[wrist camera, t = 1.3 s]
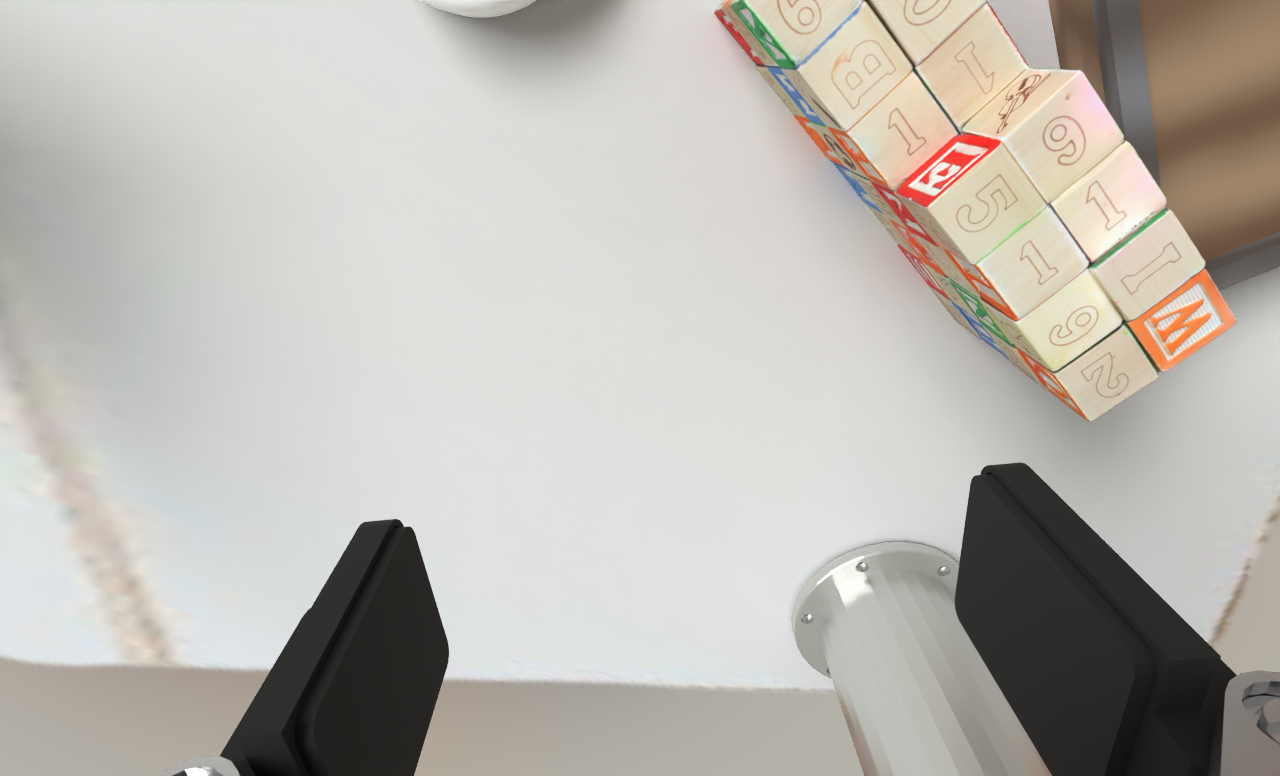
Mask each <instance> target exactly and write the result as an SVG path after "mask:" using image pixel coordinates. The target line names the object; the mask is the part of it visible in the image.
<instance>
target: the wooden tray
mask: <svg viewBox="0 0 1280 776" xmlns="http://www.w3.org/2000/svg"><path fill="white" fill-rule="evenodd" d="M1049 5H1050V10H1051V16H1052V22H1053V27H1054V33H1055V39H1056V45H1057V50H1058V56H1059V62H1060V67H1061V69H1063V70H1081V71H1082V72H1084V74H1085V76H1086V77H1087V79H1088V80H1089V82H1090V83H1091V85H1092V86H1093V88H1094V89H1095V91H1096V92H1097V94H1098V95H1099V97H1100V99H1101V100H1102V102H1103V103H1104V105H1105V106H1106V108H1107V110H1108V111H1109V113H1110V114H1111V116H1112V117H1113V119H1114V120H1115V122H1116V123H1117V125H1118V126H1119V128H1120V130H1121V131H1122V133H1123V135H1124V140H1126V141H1127V142H1129V143H1130V144H1131V145H1132V146H1133V147H1134V149H1135V150H1136V152H1137V154H1138V155H1139V157H1140V158H1141V160H1142V161H1143V163H1144V164H1145V166H1146V168H1147V169H1148V171H1149V172H1150V174H1151V175H1152V177H1153V178H1154V180H1155V182H1156V183H1157V184H1158V186H1159V187H1160V188H1161V190H1162V192H1163V194H1164V195H1165V197H1166V205H1165V207H1166V208H1168V209H1170V210H1171V211H1172V212H1173V213H1174V215H1175V216H1176V217H1177V219H1178V220H1179V222H1180V223H1181V225H1182V226H1183V228H1184V229H1185V231H1186V233H1187V234H1188V236H1189V237H1190V239H1191V241H1192V242H1193V244H1194V245H1195V246H1196V248H1197V250H1198V251H1199V253H1200V255H1201V256H1202V258H1203V259H1204V260H1205V267H1204V269H1206V270H1207V272H1208V273H1209V275H1210V277H1211V278H1212V280H1213V282H1214V283H1215V285H1216V286H1217V288H1218V290H1221V289H1224V288H1226V287H1229V286H1231V285H1234V284H1236V283H1239V282H1241V281H1244V280H1246V279H1249V278H1251V277H1254V276H1256V275H1259V274H1261V273H1264V272H1266V271H1269V270H1271V269H1274V268H1276V267H1279V266H1280V0H1049Z"/></svg>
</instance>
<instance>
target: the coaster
mask: <svg viewBox="0 0 1280 776" xmlns="http://www.w3.org/2000/svg"><path fill="white" fill-rule="evenodd" d="M418 1H420V2H422V3H425V4H427V5H429V6H432V7H434V8H437V9H440V10H444V11H447V12H450V13H454V14H457V15H461V16H467V17H474V18H489V17H496V16H502V15H505V14H509V13H512V12H515V11H518V10H520V9H522V8H524V7H526V6H528V5H530V4H531V3H533V2H535V1H536V0H418Z"/></svg>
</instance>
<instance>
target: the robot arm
mask: <svg viewBox="0 0 1280 776" xmlns="http://www.w3.org/2000/svg"><path fill="white" fill-rule="evenodd" d="M792 626H793V633H794V636H795V640H796V643H797V646H798V648H799V650H800V652H801V654H802V656H803V657H804V659H805V660H806V661H807V662H808V663H809V664H810V665H811V666H812V667H813V668H814V669H816V670H817V671H818V672H820V673H821V674H823V675H825V676H827V677H829V678H832V680H833V683H834V686H835V689H836V692H837V695H838V698H839V701H840V704H841V707H842V710H843V713H844V716H845V719H846V722H847V725H848V728H849V731H850V734H851V737H852V739H853V743H854V746H855V749H856V752H857V755H858V758H859V761H860V764H861V767H862V770H863V773H864V776H1280V673H1279V672H1267V671H1252V672H1246V673H1241V674H1239V675H1236V674H1235V673H1234V672H1233V671H1232V670H1231V669H1230V668H1229V667H1228V666H1227V665H1226V664H1225V663H1224V662H1223V661H1222V660H1221V659H1220V658H1221V656H1220V655H1219V654H1218V653H1217V652H1216V651H1215V650H1214V649H1213V648H1212V647H1211V646H1210V645H1209V644H1208V643H1207V642H1206V641H1205V640H1204V639H1203V638H1202V637H1201V636H1200V635H1199V634H1198V633H1197V632H1196V631H1195V630H1194V629H1193V628H1192V627H1191V626H1190V625H1188V624H1187V623H1186V622H1185V621H1184V620H1183V619H1182V618H1181V617H1180V616H1179V615H1178V614H1177V613H1176V612H1175V611H1174V610H1173V609H1172V608H1171V607H1170V606H1169V605H1168V604H1167V603H1166V602H1165V601H1164V600H1163V599H1162V598H1161V597H1160V596H1159V595H1158V594H1157V593H1156V592H1155V591H1154V590H1153V589H1152V588H1151V587H1150V586H1149V585H1148V584H1147V583H1146V582H1145V581H1144V580H1143V579H1142V578H1141V577H1140V576H1139V575H1138V574H1137V573H1136V572H1135V571H1134V570H1133V569H1132V568H1131V567H1130V566H1129V565H1128V564H1127V563H1126V562H1125V561H1124V560H1123V559H1122V558H1121V557H1120V556H1119V555H1118V554H1117V553H1116V552H1115V551H1114V550H1113V549H1112V548H1111V547H1110V546H1109V545H1108V544H1107V543H1106V542H1105V541H1104V540H1103V539H1102V538H1101V537H1100V536H1099V535H1098V534H1097V533H1096V532H1095V531H1094V530H1093V529H1092V528H1091V527H1090V526H1089V525H1088V524H1087V523H1085V522H1084V521H1083V520H1082V519H1081V518H1080V517H1079V516H1078V515H1077V514H1076V513H1075V512H1074V511H1073V510H1072V509H1071V508H1070V507H1069V506H1068V505H1067V504H1066V503H1065V502H1064V501H1063V500H1062V499H1061V498H1060V497H1059V496H1058V495H1057V494H1056V493H1055V492H1054V491H1053V490H1052V489H1051V488H1050V487H1049V486H1048V485H1047V484H1046V483H1045V482H1044V481H1043V480H1042V479H1041V478H1040V477H1039V476H1038V475H1037V474H1036V473H1035V472H1034V471H1033V470H1032V469H1031V468H1030V467H1029V466H1027V465H1026V464H1025V463H1011V464H1000V465H989V466H986V467H984V468H983V470H982V471H981V475H977V476H974V477H973V479H972V481H971V485H970V492H969V499H968V506H967V514H966V521H965V528H964V535H963V542H962V549H961V557H960V564H958V563H957V562H956V561H954V560H953V559H952V558H951V557H950V556H948V555H947V554H945V553H943V552H941V551H939V550H938V549H935V548H932V547H929V546H926V545H923V544H917V543H910V542H884V543H878V544H872V545H867V546H864V547H861V548H858V549H855V550H852V551H849V552H847V553H845V554H843V555H841V556H839V557H837V558H835V559H834V560H832V561H831V562H829V563H828V564H826V565H825V566H824V567H822V568H821V569H819V570H818V571H817V572H816V573H815V574H814V575H813V576H812V577H811V578H810V579H809V580H808V582H807V583H806V584H805V586H804V587H803V589H802V590H801V592H800V593H799V596H798V598H797V600H796V603H795V605H794V609H793V615H792ZM448 658H449V647H448V641H447V638H446V635H445V631H444V628H443V625H442V621H441V618H440V615H439V612H438V608H437V605H436V602H435V598H434V595H433V592H432V588H431V585H430V582H429V579H428V575H427V572H426V569H425V565H424V562H423V559H422V556H421V552H420V549H419V546H418V542H417V539H416V536H415V533H414V530H413V529H412V528H411V527H404V526H403V524H402V523H401V521H400V520H397V519H393V520H382V521H371V522H364V523H362V524H361V525H360V526H359V528H358V529H357V531H356V533H355V534H354V536H353V538H352V540H351V541H350V543H349V545H348V546H347V548H346V550H345V551H344V553H343V555H342V557H341V558H340V560H339V562H338V563H337V565H336V567H335V568H334V570H333V572H332V573H331V575H330V577H329V579H328V580H327V582H326V584H325V585H324V587H323V589H322V590H321V592H320V594H319V595H318V597H317V599H316V601H315V602H314V604H313V606H312V607H311V609H309V610H308V611H307V612H306V613H305V615H304V616H303V617H302V619H301V621H300V622H299V624H298V626H297V627H296V629H295V631H294V632H293V634H292V636H291V637H290V639H289V641H288V642H287V644H286V646H285V647H284V649H283V651H282V652H281V654H280V656H279V657H278V659H277V661H276V663H275V664H274V666H273V668H272V669H271V671H270V673H269V674H268V676H267V678H266V679H265V681H264V683H263V684H262V686H261V688H260V689H259V691H258V693H257V695H256V696H255V698H254V700H253V701H252V703H251V704H250V706H249V708H248V710H247V711H246V713H245V715H244V716H243V718H242V720H241V721H240V723H239V725H238V726H237V728H236V730H235V731H234V733H233V735H232V736H231V738H230V740H229V741H228V743H227V745H226V747H225V748H224V750H223V751H222V753H221V755H220V756H201V757H197V758H194V759H190V760H186V761H183V762H181V763H179V764H177V765H175V766H173V767H171V768H169V769H167V770H164V771H163V772H161V773H160V774H159V775H157V776H414V773H415V770H416V767H417V763H418V760H419V757H420V753H421V750H422V747H423V744H424V740H425V737H426V734H427V730H428V727H429V724H430V721H431V717H432V714H433V711H434V708H435V704H436V701H437V698H438V694H439V691H440V688H441V685H442V681H443V678H444V675H445V671H446V668H447V664H448Z"/></svg>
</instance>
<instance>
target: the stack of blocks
mask: <svg viewBox="0 0 1280 776" xmlns="http://www.w3.org/2000/svg"><path fill="white" fill-rule="evenodd" d="M714 13H715V15H716V16H717V17H718V19H719V20H720V21H721V22H722V23H723V25H724V26H725V27H726V28H727V29H728V31H729V32H730V33H731V34H732V35H733V37H734V38H735V39H736V40H737V42H738V43H739V44H740V45H741V46H742V48H743V49H744V50H745V52H746V53H747V54H748V55H749V56H750V58H751V59H752V60H753V61H754V62H755V63H756V64H757V65H756V68H757V69H758V71H759V72H760V73H761V75H762V76H763V77H764V78H765V80H766V81H767V82H768V83H769V85H770V86H771V87H772V88H773V90H774V91H775V92H776V93H777V95H778V96H779V97H780V98H781V100H782V101H783V102H784V103H785V105H786V106H787V107H788V108H789V110H790V111H791V112H792V113H793V114H794V115H795V117H796V119H797V120H798V121H799V123H800V124H801V125H802V126H803V128H804V129H805V130H806V131H807V133H808V134H809V135H810V137H811V138H812V139H813V140H814V142H815V143H816V144H817V145H818V147H819V148H820V149H821V150H822V152H823V153H824V154H825V156H826V157H827V158H828V159H830V160H832V161H833V163H834V164H835V165H836V167H837V168H838V169H839V171H840V172H841V173H842V174H843V176H844V177H845V178H846V179H847V181H848V182H849V183H850V184H851V186H852V187H853V188H854V190H855V191H856V192H857V193H858V195H859V196H860V197H861V198H862V200H863V201H864V202H865V203H866V204H867V205H868V206H869V208H870V209H871V210H872V212H873V213H874V214H875V215H876V217H877V218H878V219H879V220H880V222H881V223H882V224H883V226H884V227H885V228H886V229H887V231H888V232H889V233H890V234H891V236H892V237H893V238H894V239H895V241H896V242H897V243H898V246H899V248H900V249H901V250H902V252H903V253H904V254H905V256H906V257H907V258H908V259H909V261H910V262H911V263H912V264H913V266H914V267H915V268H916V270H917V271H918V272H919V273H920V275H921V276H922V277H923V278H924V280H925V281H926V282H927V284H928V285H929V287H930V288H931V290H932V291H933V292H934V293H935V295H936V296H937V297H938V299H939V300H940V301H941V302H942V304H943V305H944V306H945V307H946V309H947V310H948V311H949V313H950V314H951V315H952V316H953V318H954V319H955V320H956V321H957V322H959V323H960V324H961V325H963V326H964V327H966V328H967V329H968V330H969V331H970V332H972V333H973V334H974V335H975V336H977V337H978V338H980V339H983V340H984V341H985V342H987V343H988V344H989V345H991V346H992V347H993V348H995V349H996V350H997V351H999V352H1000V353H1001V354H1003V355H1004V356H1005V357H1006V358H1007V359H1009V360H1010V361H1011V362H1012V363H1013V364H1014V365H1015V366H1016V367H1018V368H1019V369H1020V370H1022V371H1023V372H1024V373H1025V374H1026V375H1028V376H1029V377H1030V378H1031V379H1033V380H1034V381H1035V382H1037V383H1038V384H1040V385H1041V386H1042V387H1044V388H1045V389H1047V390H1048V391H1050V392H1051V393H1052V394H1054V395H1055V396H1056V397H1057V398H1059V399H1060V400H1061V401H1062V402H1064V403H1065V404H1066V405H1068V406H1069V407H1070V408H1072V409H1073V410H1074V411H1075V412H1077V413H1078V414H1079V415H1080V416H1082V417H1083V418H1084V419H1086V420H1088V421H1094V420H1095V419H1097V418H1098V417H1100V416H1101V415H1103V414H1104V413H1106V412H1107V411H1109V410H1110V409H1111V408H1113V407H1114V406H1116V405H1117V404H1119V403H1120V402H1122V401H1123V400H1125V399H1126V398H1128V397H1129V396H1131V395H1132V394H1134V393H1135V392H1137V391H1139V390H1140V389H1142V388H1143V387H1145V386H1147V385H1148V384H1150V383H1151V382H1153V381H1154V380H1156V379H1157V378H1158V372H1165V371H1167V370H1169V369H1170V368H1172V367H1174V366H1176V365H1177V364H1178V363H1180V362H1181V361H1183V360H1184V359H1186V358H1187V357H1188V356H1190V355H1191V354H1193V353H1194V352H1196V351H1197V350H1199V349H1200V348H1202V347H1203V346H1204V345H1206V344H1207V343H1209V342H1210V341H1212V340H1213V339H1214V338H1216V337H1217V336H1219V335H1220V334H1222V333H1223V332H1224V331H1226V330H1227V329H1229V328H1230V327H1231V326H1233V325H1234V324H1235V323H1236V321H1237V319H1236V318H1235V316H1234V314H1233V312H1232V311H1231V309H1230V308H1229V306H1228V304H1227V303H1226V301H1225V300H1224V298H1223V296H1222V295H1221V293H1220V291H1219V290H1218V288H1217V286H1216V285H1215V283H1214V282H1213V280H1212V278H1211V277H1210V275H1209V273H1208V272H1207V270H1206V269H1204V267H1205V260H1204V259H1203V258H1202V256H1201V255H1200V253H1199V251H1198V250H1197V248H1196V246H1195V245H1194V244H1193V242H1192V241H1191V239H1190V237H1189V236H1188V234H1187V233H1186V231H1185V229H1184V228H1183V226H1182V225H1181V223H1180V222H1179V220H1178V219H1177V217H1176V216H1175V215H1174V213H1173V212H1172V211H1171V210H1170V209H1168V208H1166V207H1165V205H1166V197H1165V195H1164V194H1163V192H1162V190H1161V188H1160V187H1159V186H1158V184H1157V183H1156V182H1155V180H1154V178H1153V177H1152V175H1151V174H1150V172H1149V171H1148V169H1147V168H1146V166H1145V164H1144V163H1143V161H1142V160H1141V158H1140V157H1139V155H1138V154H1137V152H1136V150H1135V149H1134V147H1133V146H1132V145H1131V144H1130V143H1129V142H1127V141H1126V140H1124V135H1123V133H1122V131H1121V130H1120V128H1119V126H1118V125H1117V123H1116V122H1115V120H1114V119H1113V117H1112V116H1111V114H1110V113H1109V111H1108V110H1107V108H1106V106H1105V105H1104V103H1103V102H1102V100H1101V99H1100V97H1099V95H1098V94H1097V92H1096V91H1095V89H1094V88H1093V86H1092V85H1091V83H1090V82H1089V80H1088V79H1087V77H1086V76H1085V74H1084V72H1082V71H1081V70H1063V69H1040V68H1029V66H1028V64H1027V62H1026V61H1025V59H1024V58H1023V56H1022V55H1021V53H1020V51H1019V50H1018V48H1017V47H1016V45H1015V44H1014V42H1013V41H1012V39H1011V37H1010V36H1009V34H1008V33H1007V31H1006V30H1005V28H1004V27H1003V25H1002V23H1001V22H1000V20H999V19H998V17H997V15H996V14H995V12H994V11H993V9H992V8H991V6H990V5H989V4H988V2H987V0H723V2H722V3H721V4H720V5H719V6H718V8H717V9H716V10H715V12H714Z"/></svg>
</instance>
